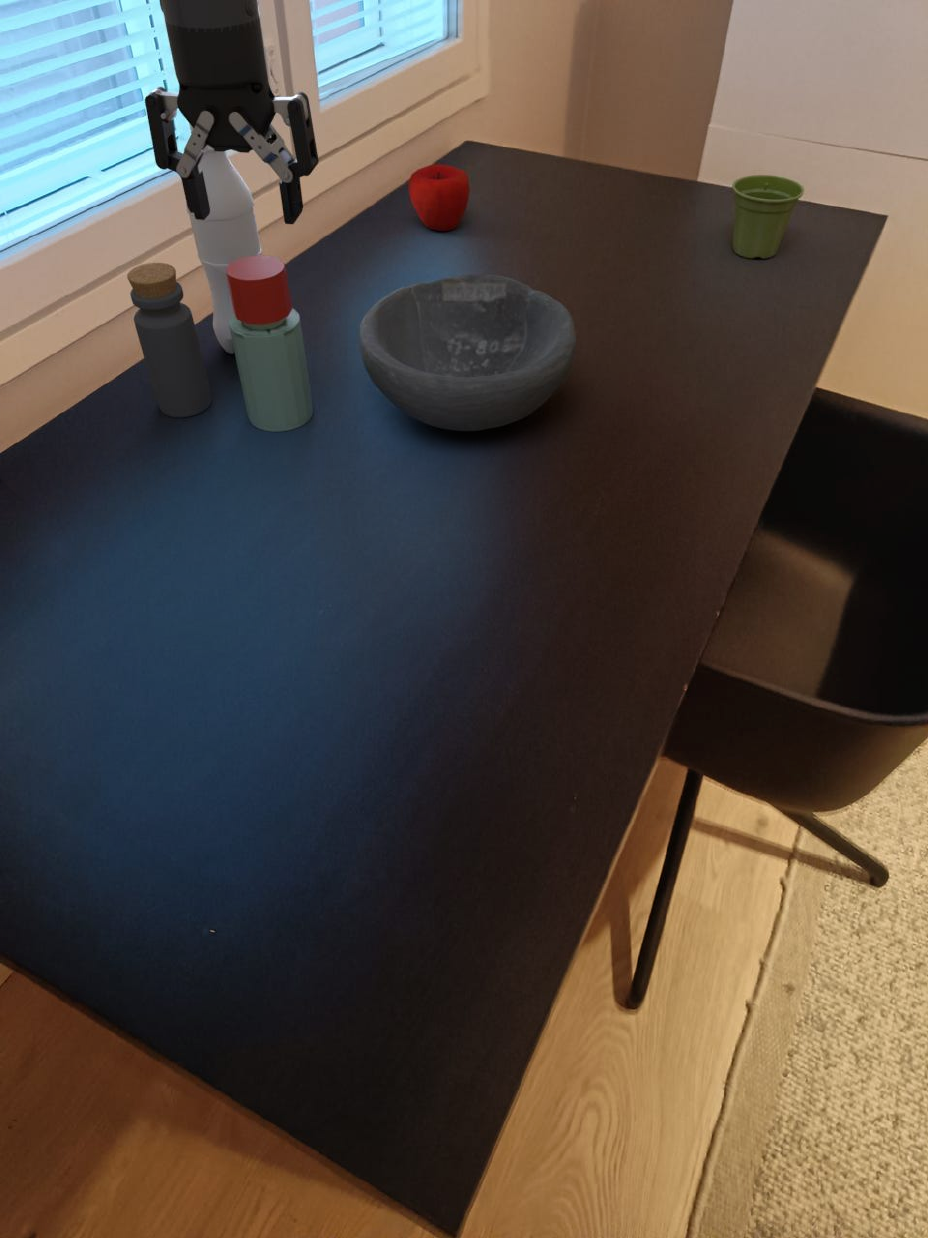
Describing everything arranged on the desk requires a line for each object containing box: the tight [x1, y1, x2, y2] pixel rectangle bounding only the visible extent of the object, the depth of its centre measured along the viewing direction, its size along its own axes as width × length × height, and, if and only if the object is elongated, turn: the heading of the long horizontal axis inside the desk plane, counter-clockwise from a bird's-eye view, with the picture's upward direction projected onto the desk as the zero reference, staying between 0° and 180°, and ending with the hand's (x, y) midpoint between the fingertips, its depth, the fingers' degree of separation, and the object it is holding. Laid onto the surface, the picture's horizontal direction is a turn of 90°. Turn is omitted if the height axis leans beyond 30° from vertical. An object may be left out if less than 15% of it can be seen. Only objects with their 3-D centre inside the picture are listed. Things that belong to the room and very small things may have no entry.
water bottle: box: [185, 122, 263, 355], centre depth 100 cm, size 7×7×25 cm
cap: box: [226, 254, 293, 325], centre depth 88 cm, size 6×6×4 cm
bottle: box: [126, 262, 213, 418], centre depth 94 cm, size 6×6×15 cm
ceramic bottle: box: [229, 307, 314, 433], centre depth 92 cm, size 7×7×16 cm
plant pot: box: [731, 174, 805, 260], centre depth 124 cm, size 9×9×9 cm
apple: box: [408, 164, 470, 232], centre depth 131 cm, size 9×9×8 cm
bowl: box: [359, 272, 577, 432], centre depth 96 cm, size 23×22×10 cm
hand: (247, 218), depth 83 cm, fingers open, 8 cm apart
